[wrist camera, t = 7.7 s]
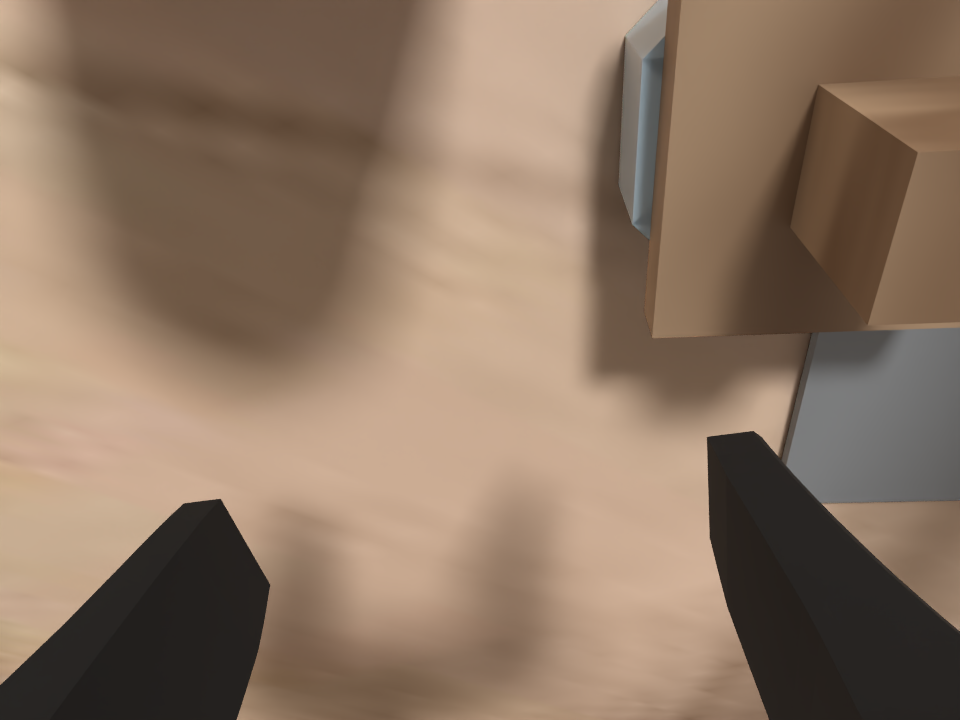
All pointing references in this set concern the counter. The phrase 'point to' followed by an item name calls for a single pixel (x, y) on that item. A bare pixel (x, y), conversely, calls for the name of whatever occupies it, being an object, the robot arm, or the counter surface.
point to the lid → (806, 168)
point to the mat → (878, 417)
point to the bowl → (641, 114)
